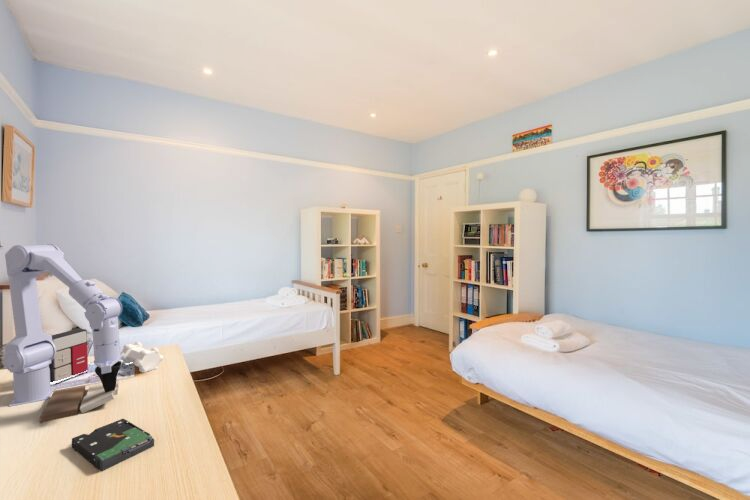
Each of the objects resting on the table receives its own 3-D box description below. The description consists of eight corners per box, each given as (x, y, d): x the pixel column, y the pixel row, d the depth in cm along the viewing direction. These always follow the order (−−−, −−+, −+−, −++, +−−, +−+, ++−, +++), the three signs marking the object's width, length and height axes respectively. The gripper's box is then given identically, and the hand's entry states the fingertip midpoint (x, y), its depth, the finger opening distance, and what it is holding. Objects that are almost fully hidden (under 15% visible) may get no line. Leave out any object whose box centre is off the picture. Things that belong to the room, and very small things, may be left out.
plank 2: (86, 401, 97) (84, 396, 97) (115, 388, 101) (113, 383, 100) (82, 413, 90) (79, 408, 90) (113, 399, 94) (111, 394, 94)
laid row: (54, 397, 100) (54, 391, 100) (85, 391, 104) (85, 385, 104) (40, 424, 86) (40, 416, 86) (76, 416, 90) (76, 409, 90)
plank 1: (90, 389, 104) (89, 384, 104) (118, 384, 108) (118, 379, 108) (86, 400, 98) (86, 395, 98) (117, 394, 101) (117, 389, 101)
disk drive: (70, 451, 77) (101, 474, 69) (70, 438, 77) (100, 460, 69) (123, 428, 86) (155, 447, 78) (123, 417, 86) (155, 435, 78)
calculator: (54, 387, 107) (52, 338, 106) (43, 385, 107) (41, 337, 107) (90, 373, 117) (88, 329, 117) (79, 371, 118) (78, 328, 117)
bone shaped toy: (163, 370, 122) (165, 347, 122) (136, 376, 115) (138, 351, 115) (142, 361, 130) (144, 339, 130) (115, 366, 123) (117, 343, 123)
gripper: (123, 346, 92) (127, 396, 93) (125, 333, 104) (128, 378, 105) (89, 351, 88) (93, 404, 89) (95, 338, 100) (98, 384, 101)
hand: (110, 390), depth 96 cm, fingers closed, pressing on plank 2
